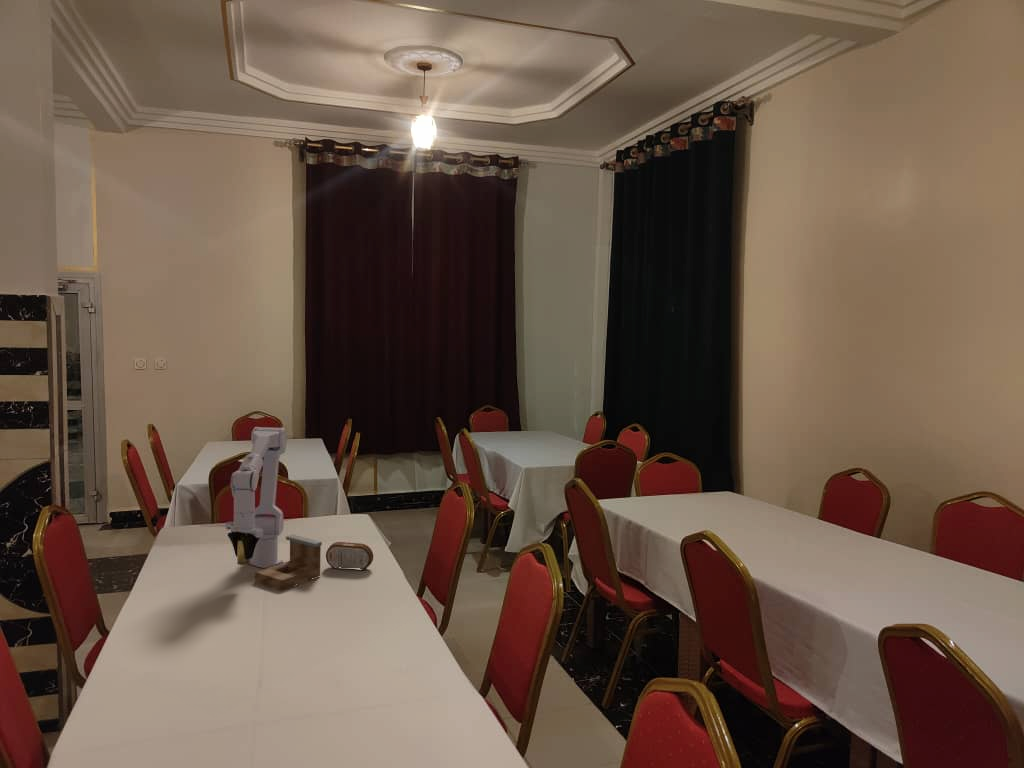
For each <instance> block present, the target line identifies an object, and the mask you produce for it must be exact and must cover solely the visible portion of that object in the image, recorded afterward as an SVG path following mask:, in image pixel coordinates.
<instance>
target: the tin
mask: <svg viewBox="0 0 1024 768" xmlns="http://www.w3.org/2000/svg"><path fill="white" fill-rule="evenodd" d="M325 558H326V562H327V564H328V565H329V566H330V567H331V568H333V567H336V568H339V567H341V568H360V569H364V570H366V569H367V568H369V567H370V565H371V564H373V560H374V553H373V550H372V548H371V547H370V546H368V545H367V544H365V543H360V542H359V543H357V542H345V541H337V542H334V543H332V544H331V545H330V546H329V547H328V548H327V550H326V552H325Z"/></svg>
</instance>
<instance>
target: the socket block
mask: <svg viewBox="0 0 1024 768" xmlns="http://www.w3.org/2000/svg"><path fill="white" fill-rule="evenodd" d="M285 540H287V541H289V560H287V561H285V562H284V561H283V562H282V563H279V564H276V565H273V566H270V567H267V568H262V569H260V570H256V571H255V572H254V582H255V583H257V582H258V584H260V583H261V584H260V585H264V586H267V587H270V588H273V589H276V588H277V589H276V590H279V589H281V590H280V591H284V589H285V590H287V589H286V588H288V589H290V588H292V587H291V586H293V587H295V586H294V585H296V584H299V583H301V582H304V583H306V582H305V581H307V580H310V579H312V578H315V577H318V576H320V577H321V549H322V548H321V546H322V545H323V542H322V541H319V540H316V539H311V538H308V537H303V536H299V535H296V534H290V535H287V536H285ZM318 578H319V577H318ZM315 579H316V578H315ZM312 580H313V579H312ZM310 581H311V580H310ZM307 582H308V581H307ZM301 584H302V583H301ZM299 585H300V584H299ZM296 586H297V585H296ZM289 587H290V588H289Z"/></svg>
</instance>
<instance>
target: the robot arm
mask: <svg viewBox="0 0 1024 768" xmlns="http://www.w3.org/2000/svg"><path fill="white" fill-rule="evenodd" d="M250 437H251V439H250V440H251V444H252V448H251V451H250V453H249V454H247V455H245V456H244V458H243V460H242V462H241V464H240V466H239V468H238V470H236V471H235V472H232V474H231V476H230V477H231V478H230V488H231V496H232V497H233V521H228V522H227V521H226V522H225V530H227V531H228V530H230V532H228V533H227V537H228V538H229V540H230V542H231V544H232V547H233V551H234V554H235V555H234V556H235V557H237V540H238V539H240V538H241V540H242V543H243V547H244V557H245V559H246V560H247V559H250V564H249V565H251V566H256V567H258V568H261V569H266V568H269V567H272V566H275V565H278V564H281V563H284V560H283V559H279V558H278V557H279V556H278V555H279V554H278V551H279V550H278V547H279V544H278V541H279V539H278V538H279V537H278V536H280V535H281V534H282V533H283V531H284V525H285V524H284V513H283V511H282V510H281V509H280V508H279V507H278V506H276V499H277V486H278V474H279V463H280V458H281V455H283V454H285V453H286V449H287V448H286V447H287V430H286V429H285V427H264V426H263V427H261V426H255V427H254V428H253V429H252V431H251V435H250ZM261 470H262V476H261V486H260V497H259V498H260V499H259V505H258V506H257V507H256V506H255V504H256V501H255V500H256V498H255V497H256V496H255V495H256V494H255V493H256V492H255V491H256V489H257V487H258V484H259V478H260V476H259V475H260V472H261Z"/></svg>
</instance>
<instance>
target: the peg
mask: <svg viewBox="0 0 1024 768" xmlns="http://www.w3.org/2000/svg"><path fill="white" fill-rule="evenodd" d="M236 562H237V565H238V566H246V565H247V566H248V565H251V564H250V559H247V560H246V559H245V557H244V547H243V543H242V540H241V538H240V539H238V540H237V561H236Z"/></svg>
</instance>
